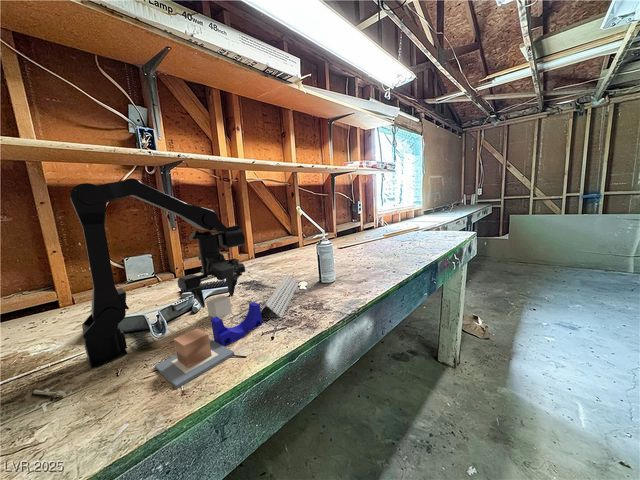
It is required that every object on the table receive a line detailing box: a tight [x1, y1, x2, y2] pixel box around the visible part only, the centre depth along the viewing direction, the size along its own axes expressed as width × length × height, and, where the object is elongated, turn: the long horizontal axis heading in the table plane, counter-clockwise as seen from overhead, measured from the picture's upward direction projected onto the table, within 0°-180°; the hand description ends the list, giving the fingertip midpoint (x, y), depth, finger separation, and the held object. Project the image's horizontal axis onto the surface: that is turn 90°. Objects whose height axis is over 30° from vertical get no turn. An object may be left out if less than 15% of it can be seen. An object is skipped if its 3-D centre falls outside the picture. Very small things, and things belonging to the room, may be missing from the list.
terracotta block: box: [173, 328, 212, 368], centre depth 54 cm, size 5×5×5 cm
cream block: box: [205, 294, 233, 319], centre depth 77 cm, size 5×5×5 cm
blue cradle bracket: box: [210, 301, 263, 347], centre depth 64 cm, size 12×4×6 cm, turn 137°
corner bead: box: [260, 273, 299, 318], centre depth 85 cm, size 29×9×5 cm, turn 175°
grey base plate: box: [154, 338, 235, 389], centre depth 54 cm, size 12×11×1 cm
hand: (218, 301), depth 77 cm, fingers open, 9 cm apart
